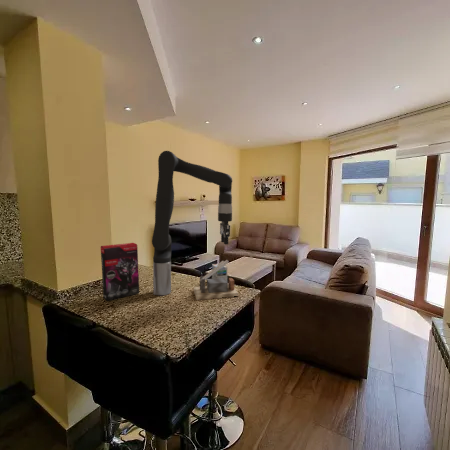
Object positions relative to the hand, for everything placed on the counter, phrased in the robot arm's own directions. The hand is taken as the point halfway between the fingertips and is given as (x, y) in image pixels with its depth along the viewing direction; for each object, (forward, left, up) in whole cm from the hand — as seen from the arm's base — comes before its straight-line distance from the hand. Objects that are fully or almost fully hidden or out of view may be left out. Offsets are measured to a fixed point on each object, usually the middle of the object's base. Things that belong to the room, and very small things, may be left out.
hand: (224, 243), depth 135 cm
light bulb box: (+1, +18, -28) cm, 33 cm away
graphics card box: (-54, +6, -28) cm, 61 cm away
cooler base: (-5, 0, -28) cm, 28 cm away
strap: (-5, 0, -16) cm, 16 cm away
